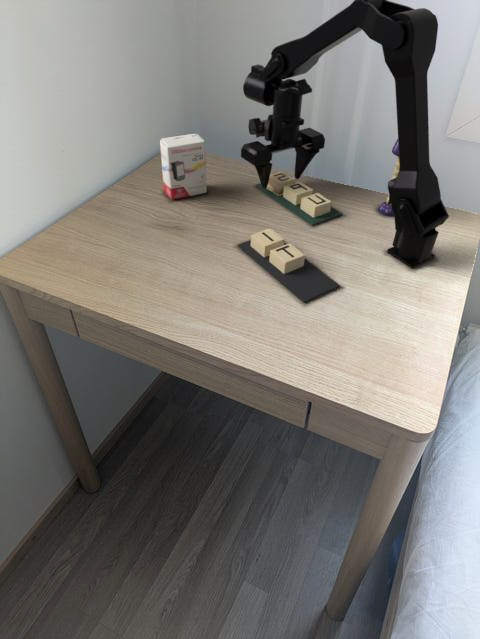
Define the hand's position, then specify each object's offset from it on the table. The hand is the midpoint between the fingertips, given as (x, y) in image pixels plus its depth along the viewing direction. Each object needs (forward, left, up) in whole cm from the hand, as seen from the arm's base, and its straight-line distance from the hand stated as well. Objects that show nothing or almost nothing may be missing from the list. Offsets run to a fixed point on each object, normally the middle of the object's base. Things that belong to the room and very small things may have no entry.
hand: (280, 183), depth 111 cm
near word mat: (-24, +17, -1) cm, 29 cm away
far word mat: (-6, 0, -1) cm, 6 cm away
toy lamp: (-20, -14, -2) cm, 24 cm away
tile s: (0, 0, -1) cm, 1 cm away
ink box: (+10, +19, -2) cm, 22 cm away
